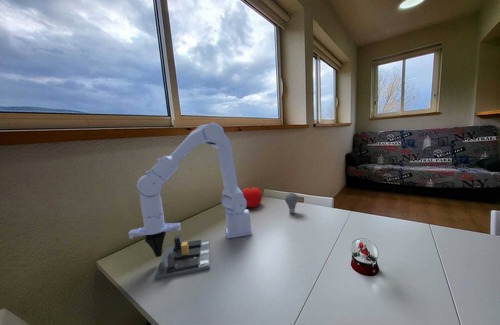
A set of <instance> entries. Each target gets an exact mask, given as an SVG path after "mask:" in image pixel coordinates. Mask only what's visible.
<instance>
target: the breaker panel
mask: <svg viewBox="0 0 500 325" xmlns="http://www.w3.org/2000/svg"><path fill="white" fill-rule="evenodd" d="M173 240H174V241H173V242H174V245H171V246H166V247H165V250H164V252H163V253H162V256H161V260H160V262H159V264H158V267H157V270H156V273H155V275H154V278H155V280H161V279H166V278H170V277H171V278H172V277H177V276H180V275H186V274H187V275H188V274H192V273H197V272H202V271H207V270H210V269H211V266H210V265H211V251H210V250H211V248H210V247H211V241H210V239H206V240H201V239H198V240H197V239H196V240H190V241H187V242H188V248H189V252H188V254H187V255H182V250H181V244H182V242H183V241H182V237H181V234H180V235H175V236H174V238H173Z"/></svg>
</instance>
